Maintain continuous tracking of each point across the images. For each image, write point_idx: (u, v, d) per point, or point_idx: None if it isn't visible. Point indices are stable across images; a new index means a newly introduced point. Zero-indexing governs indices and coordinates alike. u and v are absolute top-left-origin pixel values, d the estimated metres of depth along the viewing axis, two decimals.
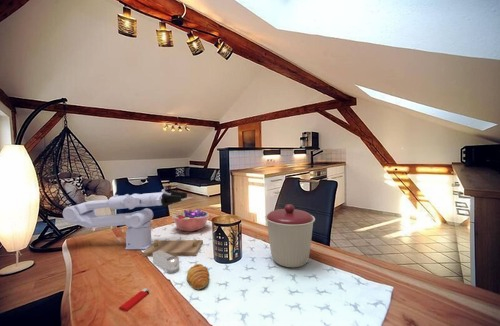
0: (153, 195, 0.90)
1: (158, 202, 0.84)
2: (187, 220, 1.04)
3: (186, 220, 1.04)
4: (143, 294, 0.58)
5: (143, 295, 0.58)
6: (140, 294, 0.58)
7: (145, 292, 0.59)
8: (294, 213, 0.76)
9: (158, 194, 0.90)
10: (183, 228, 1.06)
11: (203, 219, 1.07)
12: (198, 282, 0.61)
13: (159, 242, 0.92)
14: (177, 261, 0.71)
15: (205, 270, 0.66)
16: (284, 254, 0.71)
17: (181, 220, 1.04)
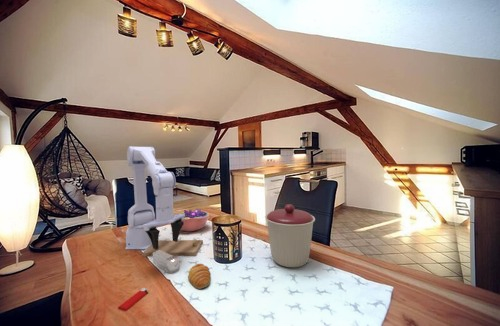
0: (163, 212, 0.71)
1: (144, 228, 0.68)
2: (187, 220, 1.04)
3: (186, 220, 1.04)
4: (142, 294, 0.59)
5: (142, 295, 0.58)
6: (138, 294, 0.58)
7: (144, 292, 0.59)
8: (294, 213, 0.76)
9: (164, 218, 0.71)
10: (183, 228, 1.06)
11: (203, 219, 1.07)
12: (200, 281, 0.62)
13: (159, 242, 0.92)
14: (177, 261, 0.71)
15: (206, 269, 0.67)
16: (284, 254, 0.71)
17: (181, 220, 1.04)
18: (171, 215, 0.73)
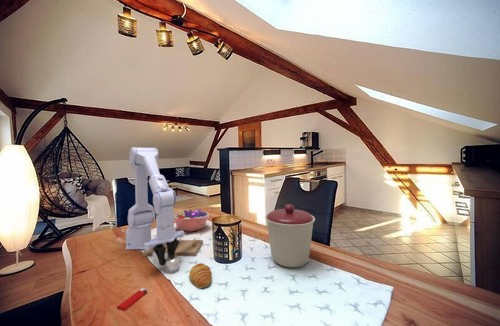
0: (163, 230, 0.71)
1: (145, 247, 0.68)
2: (187, 220, 1.04)
3: (186, 220, 1.04)
4: (141, 293, 0.59)
5: (141, 294, 0.58)
6: (137, 293, 0.59)
7: (143, 291, 0.60)
8: (294, 213, 0.76)
9: (164, 236, 0.71)
10: (183, 228, 1.06)
11: (203, 219, 1.07)
12: (201, 281, 0.62)
13: None
14: (177, 261, 0.71)
15: (207, 269, 0.67)
16: (284, 254, 0.71)
17: (181, 220, 1.04)
18: (171, 233, 0.73)
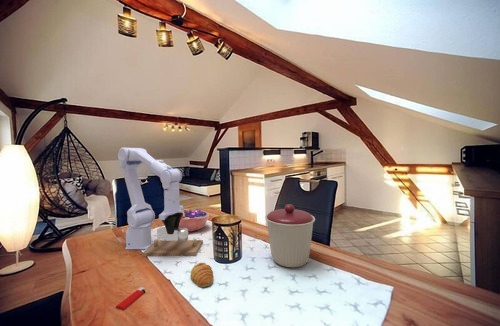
0: (173, 203, 0.81)
1: (160, 218, 0.76)
2: (187, 220, 1.04)
3: (186, 220, 1.04)
4: (139, 293, 0.59)
5: (140, 294, 0.59)
6: (136, 293, 0.59)
7: (141, 291, 0.60)
8: (294, 213, 0.76)
9: (174, 208, 0.81)
10: None
11: (203, 219, 1.07)
12: (203, 280, 0.63)
13: (159, 242, 0.92)
14: (187, 231, 0.83)
15: (209, 268, 0.67)
16: (284, 254, 0.71)
17: (181, 220, 1.04)
18: (179, 205, 0.84)
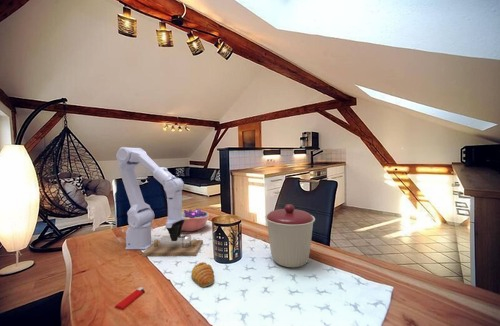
0: (178, 211, 0.86)
1: (167, 226, 0.80)
2: (187, 220, 1.04)
3: (186, 220, 1.04)
4: (139, 293, 0.59)
5: (139, 294, 0.59)
6: (135, 293, 0.59)
7: (141, 291, 0.60)
8: (294, 213, 0.76)
9: (179, 216, 0.86)
10: (183, 228, 1.06)
11: (203, 219, 1.07)
12: (204, 279, 0.63)
13: (159, 242, 0.92)
14: None
15: (210, 268, 0.68)
16: (284, 254, 0.71)
17: None
18: (182, 213, 0.88)
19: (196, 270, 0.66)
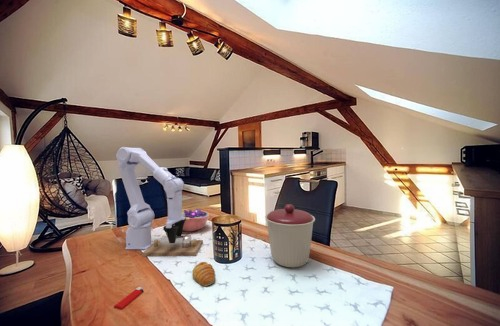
0: (178, 211, 0.86)
1: (167, 226, 0.80)
2: (187, 220, 1.04)
3: (186, 220, 1.04)
4: (138, 292, 0.59)
5: (138, 293, 0.59)
6: (134, 292, 0.59)
7: (140, 290, 0.60)
8: (294, 213, 0.76)
9: (179, 216, 0.86)
10: (183, 228, 1.06)
11: (203, 219, 1.07)
12: (205, 279, 0.63)
13: (159, 242, 0.92)
14: None
15: (211, 267, 0.68)
16: (284, 254, 0.71)
17: None
18: (182, 213, 0.88)
19: (197, 269, 0.67)
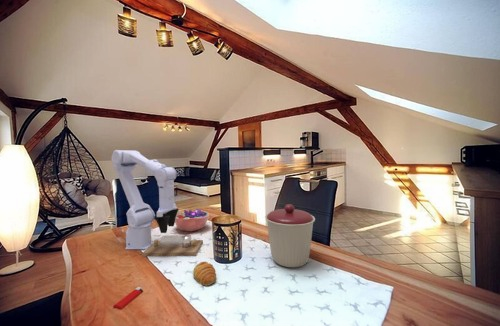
0: (169, 200, 0.83)
1: (158, 215, 0.78)
2: (187, 220, 1.04)
3: (186, 220, 1.04)
4: (137, 292, 0.59)
5: (137, 293, 0.59)
6: (133, 292, 0.59)
7: (139, 290, 0.60)
8: (294, 213, 0.76)
9: (170, 205, 0.84)
10: (183, 228, 1.06)
11: (203, 219, 1.07)
12: (206, 278, 0.63)
13: (159, 242, 0.92)
14: None
15: (211, 267, 0.68)
16: (284, 254, 0.71)
17: (181, 220, 1.04)
18: (174, 203, 0.86)
19: (198, 269, 0.67)
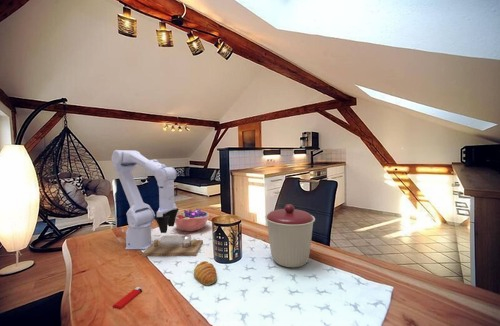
0: (169, 200, 0.83)
1: (158, 215, 0.78)
2: (187, 220, 1.04)
3: (186, 220, 1.04)
4: (136, 292, 0.59)
5: (136, 293, 0.59)
6: (133, 292, 0.59)
7: (138, 290, 0.60)
8: (294, 213, 0.76)
9: (170, 205, 0.84)
10: (183, 228, 1.06)
11: (203, 219, 1.07)
12: (207, 278, 0.64)
13: (159, 242, 0.92)
14: None
15: (212, 266, 0.68)
16: (284, 254, 0.71)
17: (181, 220, 1.04)
18: (174, 203, 0.86)
19: (199, 269, 0.67)
